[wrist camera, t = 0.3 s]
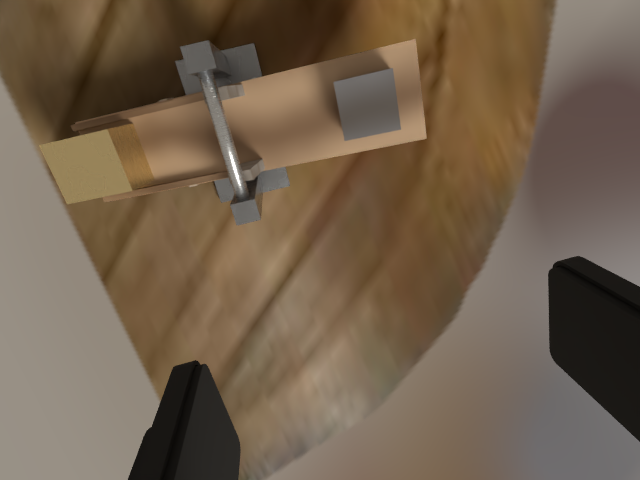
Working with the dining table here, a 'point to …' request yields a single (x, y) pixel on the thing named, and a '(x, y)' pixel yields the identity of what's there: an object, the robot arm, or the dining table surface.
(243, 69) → the stand
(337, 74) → the beam
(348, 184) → the dining table surface
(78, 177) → the block
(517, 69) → the dining table surface
